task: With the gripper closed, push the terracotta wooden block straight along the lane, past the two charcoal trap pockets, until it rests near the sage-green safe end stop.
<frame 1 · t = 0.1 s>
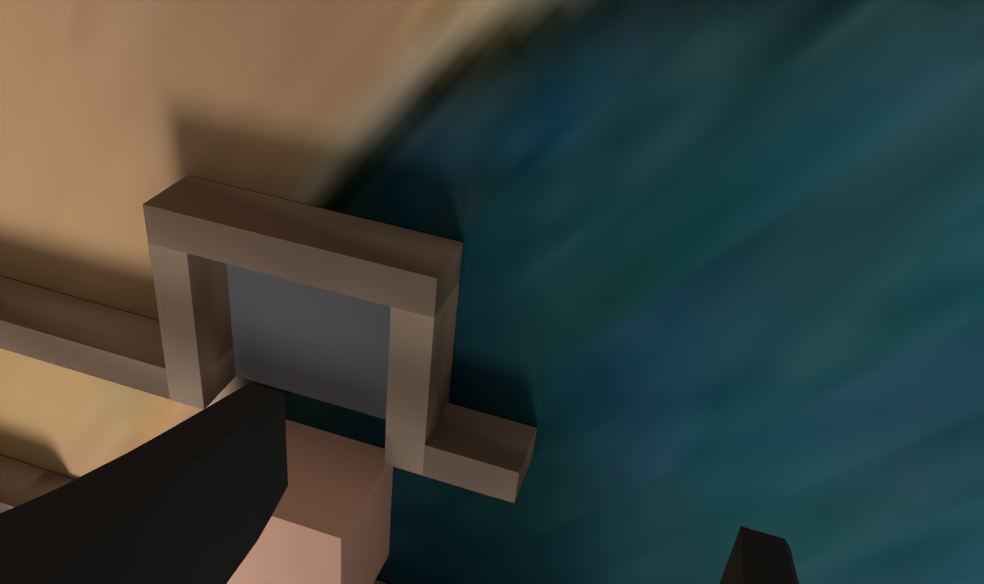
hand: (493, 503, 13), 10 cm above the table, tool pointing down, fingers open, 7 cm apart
block: (326, 482, 30), resting in trap lane
trap lane: (123, 423, 31), on the table
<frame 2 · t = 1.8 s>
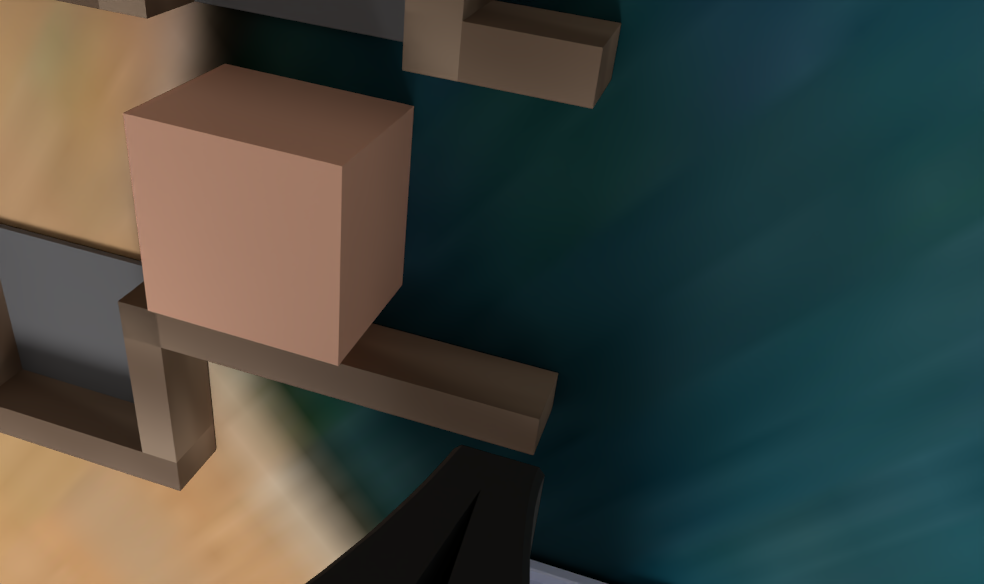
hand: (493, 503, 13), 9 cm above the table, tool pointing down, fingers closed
block: (319, 176, 22), resting in trap lane
trap lane: (51, 117, 23), on the table
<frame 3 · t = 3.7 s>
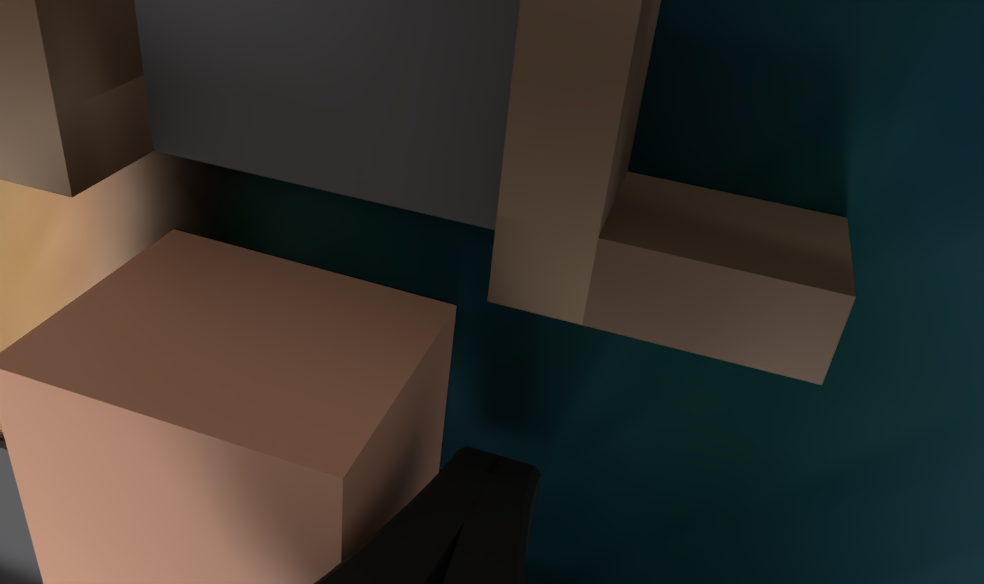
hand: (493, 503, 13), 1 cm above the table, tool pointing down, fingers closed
block: (310, 386, 15), resting in trap lane, touching gripper
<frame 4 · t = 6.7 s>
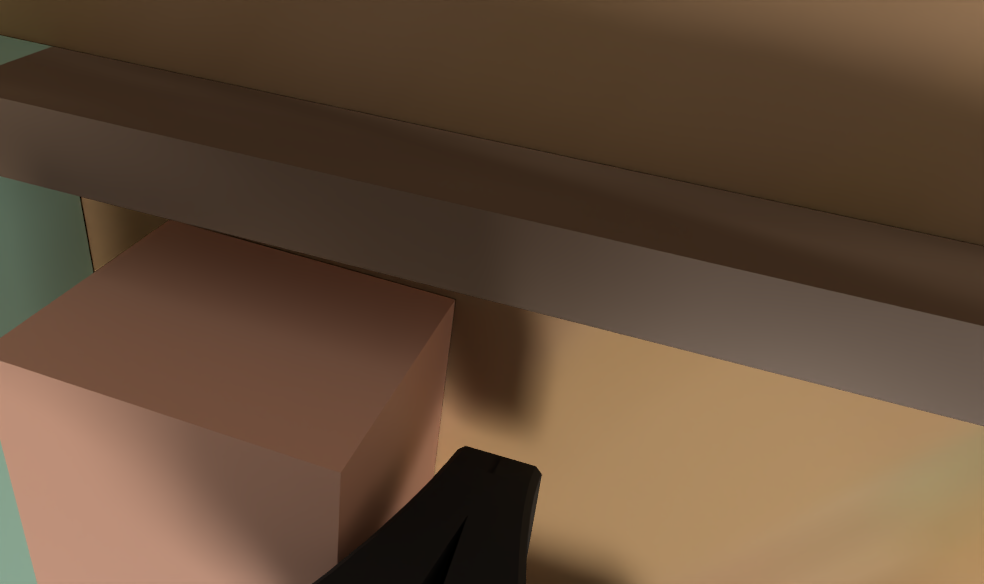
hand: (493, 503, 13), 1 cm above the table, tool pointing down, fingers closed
block: (306, 379, 15), resting in trap lane, touching gripper
trap lane: (892, 551, 13), on the table
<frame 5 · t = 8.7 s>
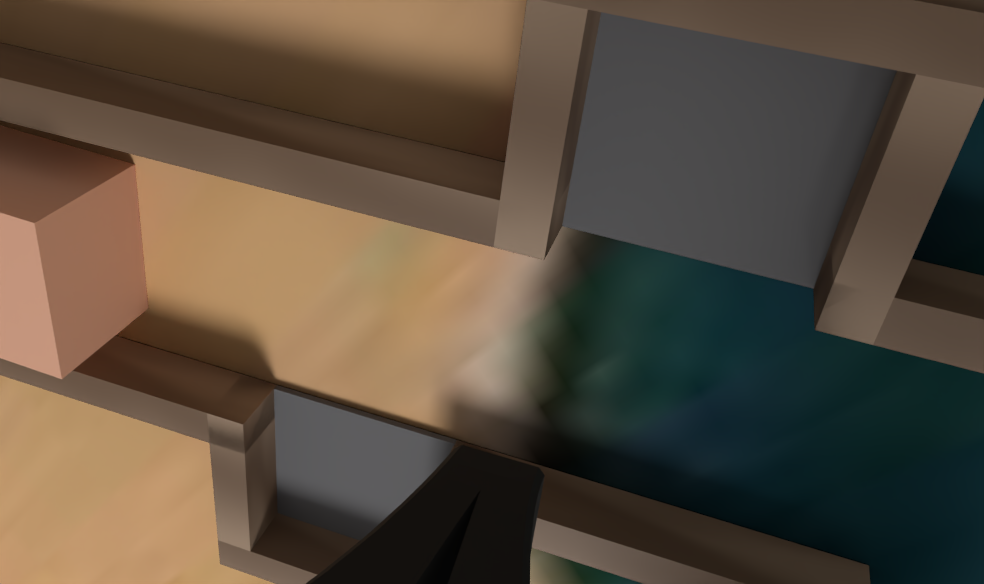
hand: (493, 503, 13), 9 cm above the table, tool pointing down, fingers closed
block: (73, 216, 26), resting in trap lane
trap lane: (369, 304, 24), on the table
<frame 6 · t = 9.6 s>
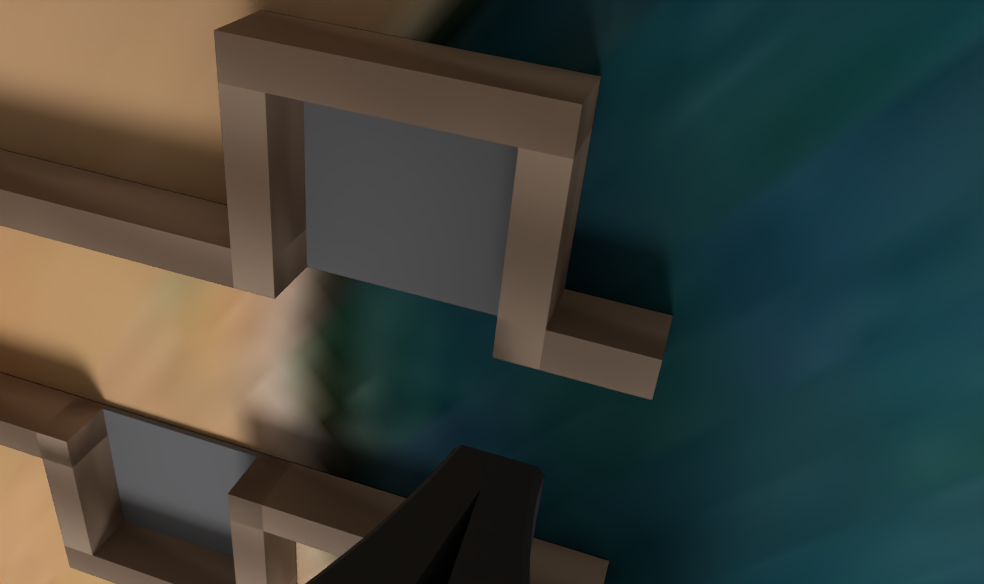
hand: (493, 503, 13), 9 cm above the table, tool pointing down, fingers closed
trap lane: (169, 334, 27), on the table
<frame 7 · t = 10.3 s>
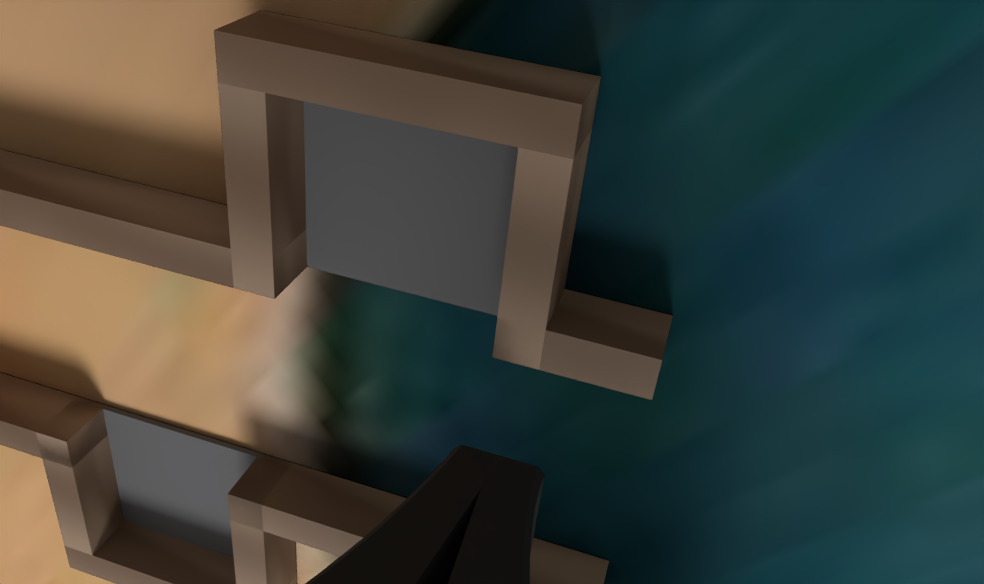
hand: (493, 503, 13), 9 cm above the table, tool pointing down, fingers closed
trap lane: (169, 334, 27), on the table
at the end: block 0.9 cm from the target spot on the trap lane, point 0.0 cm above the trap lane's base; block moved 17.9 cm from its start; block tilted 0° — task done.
